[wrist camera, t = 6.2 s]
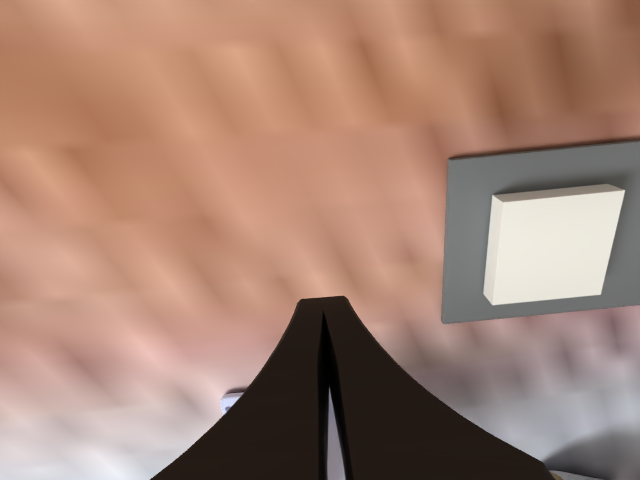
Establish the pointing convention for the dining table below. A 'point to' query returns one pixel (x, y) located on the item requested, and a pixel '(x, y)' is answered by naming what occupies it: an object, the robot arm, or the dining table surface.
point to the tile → (550, 243)
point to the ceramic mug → (570, 476)
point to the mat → (524, 176)
